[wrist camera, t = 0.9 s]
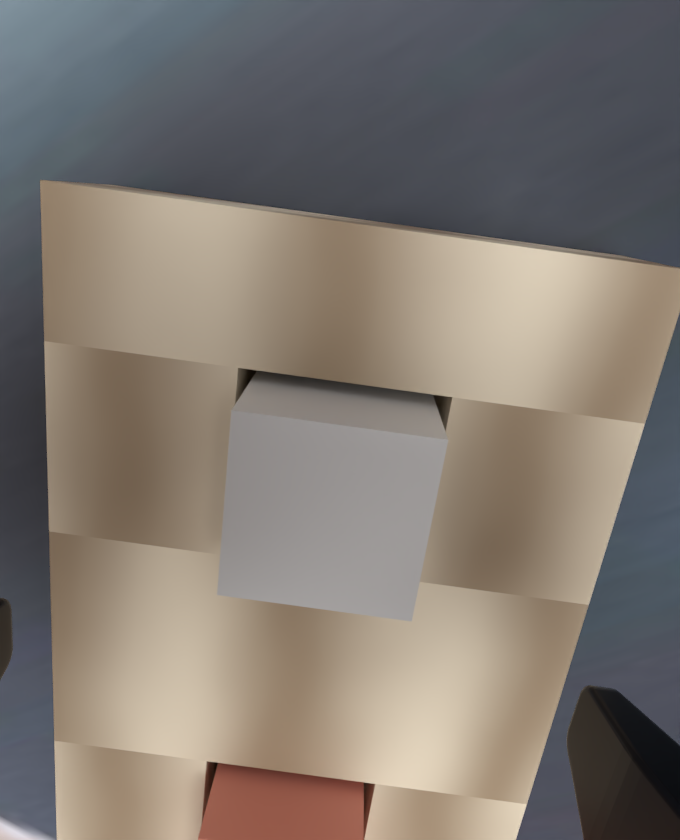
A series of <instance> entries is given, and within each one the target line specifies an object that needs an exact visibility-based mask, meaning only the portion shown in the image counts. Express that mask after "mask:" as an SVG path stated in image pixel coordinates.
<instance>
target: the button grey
mask: <svg viewBox="0 0 680 840" xmlns="http://www.w3.org/2000/svg"><path fill="white" fill-rule="evenodd" d="M447 444H448V438H447V435H446V432H445V429H444V426H443V423H442V420H441V417H440V414H439V411H438V408H437V406H436V403H435V400H434V397H433V395H432V394H425V393H418V392H410V391H403V390H396V389H389V388H381V387H374V386H367V385H359V384H352V383H345V382H338V381H330V380H323V379H316V378H309V377H301V376H294V375H287V374H280V373H272V372H265V371H258V370H257V372H256V373H255V375H254V376H253V378H252V379H251V381H250V382H249V384H248V385H247V387H246V389H245V390H244V392H243V393H242V395H241V396H240V398H239V399H238V401H237V402H236V404H235V405H234V407H233V408H232V410H231V422H230V434H229V447H228V460H227V473H226V486H225V499H224V511H223V524H222V537H221V550H220V563H219V576H218V589H217V595H220V596H228V597H235V598H242V599H250V600H257V601H264V602H272V603H279V604H287V605H294V606H301V607H309V608H316V609H323V610H331V611H338V612H345V613H353V614H360V615H368V616H375V617H382V618H390V619H397V620H404V621H412V617H413V612H414V607H415V602H416V597H417V592H418V588H419V583H420V578H421V573H422V568H423V563H424V558H425V553H426V548H427V543H428V538H429V533H430V528H431V523H432V518H433V513H434V508H435V503H436V498H437V493H438V489H439V484H440V479H441V474H442V469H443V464H444V459H445V454H446V449H447Z"/></svg>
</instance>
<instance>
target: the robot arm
mask: <svg viewBox="0 0 680 840" xmlns="http://www.w3.org/2000/svg"><path fill="white" fill-rule="evenodd" d="M12 650H13V640H12V614H11V605H10V603H9V602H8V601H7V600H6V599H4V598H0V680H1V678H2V676H3V674H4V672H5V670H6V669H7V667H8V665H9V662H10V659H11V656H12ZM567 750H568V756H569V761H570V767H571V772H572V778H573V783H574V789H575V794H576V800H577V805H578V811H579V816H580V822H581V827H582V833H583V838H584V840H680V745H679V744H677V743H676V742H675V741H674V740H673V739H672V738H671V737H670V736H668V735H667V734H666V733H665V732H664V731H663V730H662V729H660V728H659V727H658V726H657V725H656V724H655V723H654V722H653V721H651V720H650V719H649V718H648V717H647V716H646V715H645V714H643V713H642V712H641V711H640V710H639V709H638V708H637V707H636V706H634V705H633V704H632V703H631V702H630V701H629V700H628V699H626V698H625V697H624V696H623V695H622V694H621V693H619V692H618V691H617V690H615V689H611V688H605V687H598V686H591V685H590V686H586V687H584V688H583V690H582V691H581V693H580V696H579V699H578V702H577V705H576V708H575V711H574V714H573V716H572V719H571V722H570V725H569V728H568V733H567Z"/></svg>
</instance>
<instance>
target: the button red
mask: <svg viewBox="0 0 680 840" xmlns="http://www.w3.org/2000/svg"><path fill="white" fill-rule="evenodd" d="M363 839H364V782H357V781H350V780H342V779H335V778H327V777H320V776H313V775H305V774H298V773H290V772H283V771H275V770H268V769H261V768H253V767H246V766H238V765H231V764H223V763H218V765H217V769H216V773H215V776H214V780H213V784H212V788H211V791H210V795H209V799H208V803H207V806H206V810H205V814H204V818H203V822H202V825H201V829H200V833H199V837H198V840H363Z"/></svg>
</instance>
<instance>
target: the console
mask: <svg viewBox="0 0 680 840" xmlns="http://www.w3.org/2000/svg"><path fill="white" fill-rule="evenodd" d="M40 194H41V233H42V272H43V312H44V351H45V390H46V430H47V469H48V508H49V548H50V587H51V626H52V666H53V705H54V744H55V784H56V823H57V840H198V837H199V833H200V829H201V825H202V822H203V818H204V814H205V810H206V806H207V803H208V799H209V795H210V791H211V788H212V784H213V780H214V776H215V773H216V769H217V765H218V763H223V764H231V765H238V766H246V767H253V768H261V769H268V770H275V771H283V772H290V773H298V774H305V775H313V776H320V777H327V778H335V779H342V780H350V781H357V782H364V839H363V840H516V837H517V834H518V831H519V828H520V824H521V821H522V818H523V815H524V812H525V808H526V805H527V802H528V799H529V795H530V792H531V789H532V786H533V783H534V779H535V776H536V773H537V770H538V766H539V763H540V760H541V757H542V754H543V750H544V747H545V744H546V741H547V737H548V734H549V731H550V728H551V725H552V721H553V718H554V715H555V712H556V709H557V705H558V702H559V699H560V696H561V692H562V689H563V686H564V683H565V680H566V676H567V673H568V670H569V667H570V663H571V660H572V657H573V654H574V651H575V647H576V644H577V641H578V638H579V634H580V631H581V628H582V625H583V622H584V618H585V615H586V612H587V609H588V605H589V602H590V599H591V596H592V593H593V589H594V586H595V583H596V580H597V576H598V573H599V570H600V567H601V564H602V560H603V557H604V554H605V551H606V547H607V544H608V541H609V538H610V535H611V531H612V528H613V525H614V522H615V518H616V515H617V512H618V509H619V506H620V502H621V499H622V496H623V493H624V489H625V486H626V483H627V480H628V477H629V473H630V470H631V467H632V464H633V461H634V457H635V454H636V451H637V448H638V444H639V441H640V438H641V435H642V432H643V428H644V425H645V422H646V419H647V415H648V412H649V409H650V406H651V403H652V399H653V396H654V393H655V390H656V386H657V383H658V380H659V377H660V374H661V370H662V367H663V364H664V361H665V357H666V354H667V351H668V348H669V345H670V341H671V338H672V335H673V332H674V328H675V325H676V322H677V319H678V316H679V312H680V268H678V267H673V266H669V265H664V264H659V263H654V262H649V261H645V260H640V259H635V258H630V257H626V256H621V255H614V254H606V253H599V252H592V251H585V250H578V249H570V248H563V247H556V246H549V245H542V244H534V243H527V242H520V241H513V240H506V239H498V238H491V237H484V236H477V235H470V234H463V233H455V232H448V231H441V230H434V229H427V228H419V227H412V226H405V225H398V224H391V223H383V222H376V221H369V220H362V219H355V218H347V217H340V216H333V215H326V214H319V213H311V212H304V211H297V210H290V209H283V208H275V207H268V206H261V205H254V204H247V203H239V202H232V201H225V200H218V199H211V198H203V197H196V196H189V195H182V194H175V193H167V192H160V191H153V190H146V189H139V188H131V187H124V186H117V185H107V184H93V183H78V182H63V181H49V180H40ZM257 370H258V371H265V372H272V373H280V374H287V375H294V376H301V377H309V378H316V379H323V380H330V381H338V382H345V383H352V384H359V385H367V386H374V387H381V388H389V389H396V390H403V391H410V392H418V393H425V394H432V395H433V397H434V400H435V403H436V406H437V408H438V411H439V414H440V417H441V420H442V423H443V426H444V429H445V432H446V435H447V438H448V444H447V449H446V454H445V459H444V464H443V469H442V474H441V479H440V484H439V489H438V493H437V498H436V503H435V508H434V513H433V518H432V523H431V528H430V533H429V538H428V543H427V548H426V553H425V558H424V563H423V568H422V573H421V578H420V583H419V588H418V592H417V597H416V602H415V607H414V612H413V617H412V621H404V620H397V619H390V618H382V617H375V616H368V615H360V614H353V613H345V612H338V611H331V610H323V609H316V608H309V607H301V606H294V605H287V604H279V603H272V602H264V601H257V600H250V599H242V598H235V597H228V596H220V595H217V589H218V576H219V563H220V550H221V537H222V524H223V511H224V499H225V486H226V473H227V460H228V447H229V434H230V422H231V410H232V408H233V407H234V405H235V404H236V402H237V401H238V399H239V398H240V396H241V395H242V393H243V392H244V390H245V389H246V387H247V385H248V384H249V382H250V381H251V379H252V378H253V376H254V375H255V373H256V372H257Z"/></svg>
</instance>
